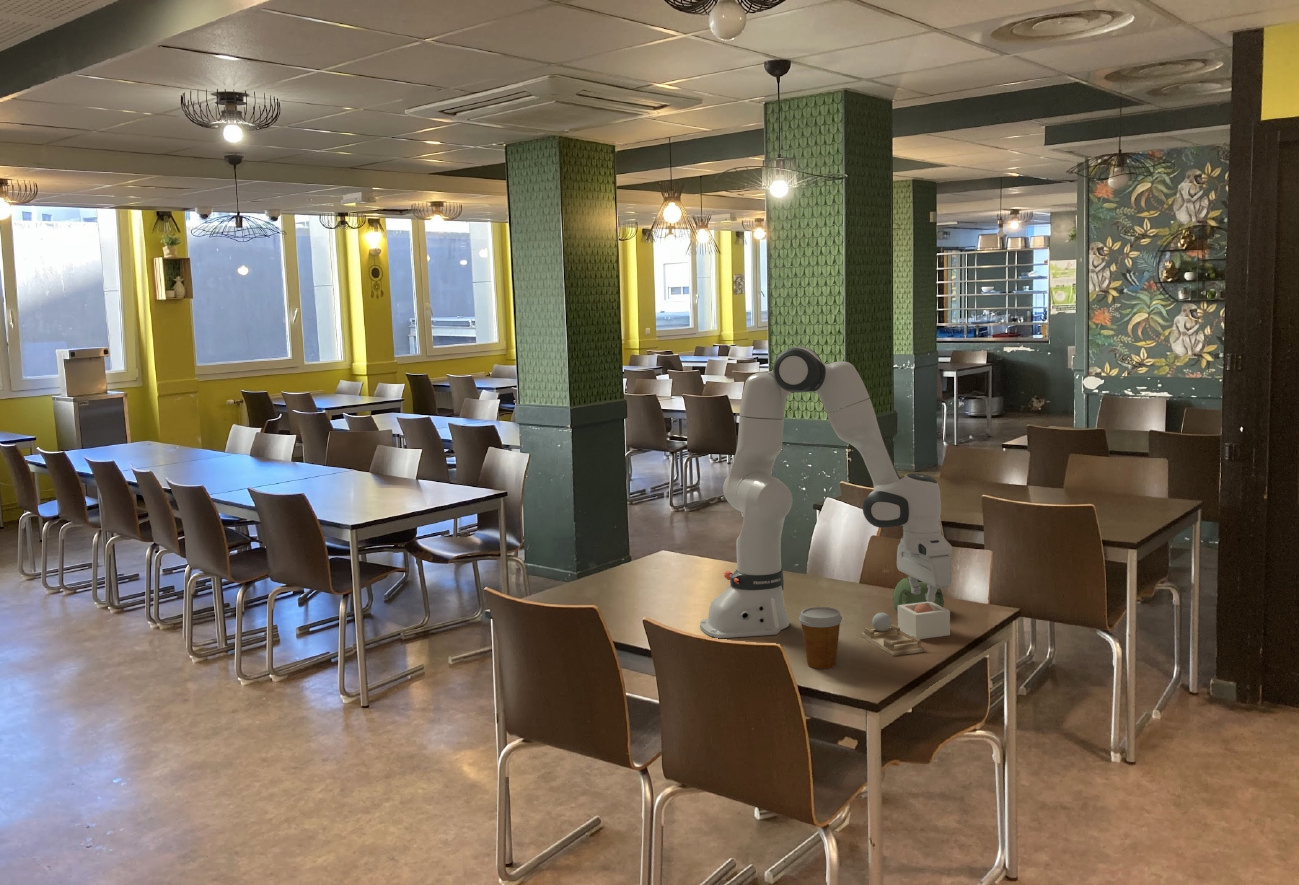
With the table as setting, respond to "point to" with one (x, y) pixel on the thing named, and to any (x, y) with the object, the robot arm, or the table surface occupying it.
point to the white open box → (924, 621)
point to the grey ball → (882, 622)
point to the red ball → (923, 608)
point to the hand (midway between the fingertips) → (923, 597)
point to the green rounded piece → (906, 597)
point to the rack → (893, 641)
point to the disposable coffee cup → (820, 635)
